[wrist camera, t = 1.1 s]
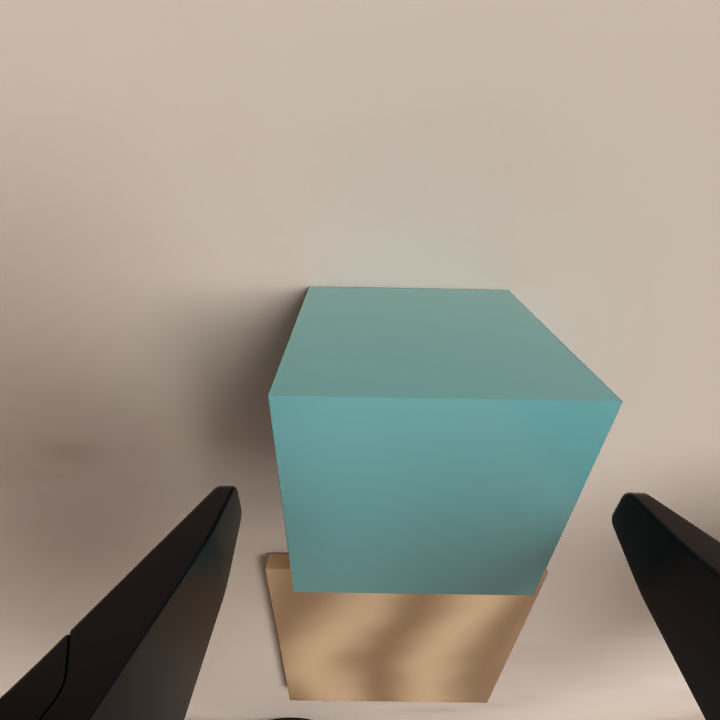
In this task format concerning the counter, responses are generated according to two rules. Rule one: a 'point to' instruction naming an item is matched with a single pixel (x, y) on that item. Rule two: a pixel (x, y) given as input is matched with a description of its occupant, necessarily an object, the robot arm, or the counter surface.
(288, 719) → the coffee mug
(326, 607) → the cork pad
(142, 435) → the counter surface
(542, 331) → the tilted teal cube
